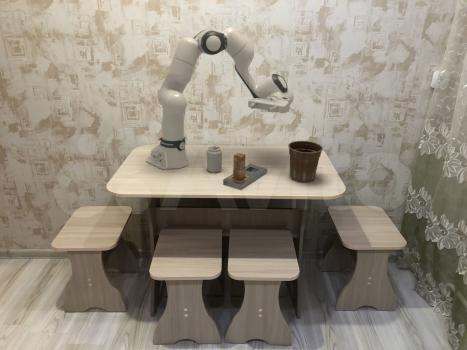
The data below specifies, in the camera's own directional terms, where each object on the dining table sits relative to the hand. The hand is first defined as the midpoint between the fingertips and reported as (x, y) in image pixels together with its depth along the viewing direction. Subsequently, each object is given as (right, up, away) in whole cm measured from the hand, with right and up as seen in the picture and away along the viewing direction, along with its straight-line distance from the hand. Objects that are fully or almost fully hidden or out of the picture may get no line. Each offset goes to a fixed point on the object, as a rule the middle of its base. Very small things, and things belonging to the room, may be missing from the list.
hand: (260, 108), depth 186 cm
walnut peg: (-10, -35, 0) cm, 36 cm away
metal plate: (-7, -33, +4) cm, 34 cm away
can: (-22, -29, +13) cm, 39 cm away
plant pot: (+21, -33, +7) cm, 39 cm away
